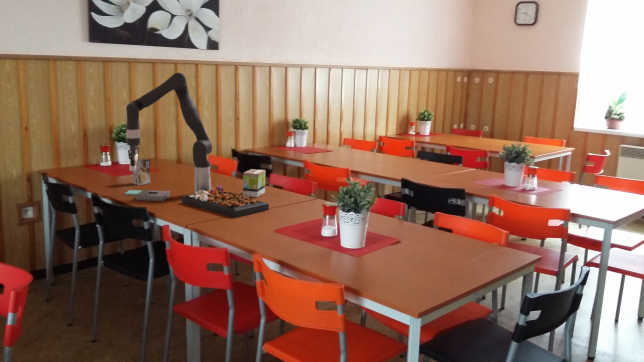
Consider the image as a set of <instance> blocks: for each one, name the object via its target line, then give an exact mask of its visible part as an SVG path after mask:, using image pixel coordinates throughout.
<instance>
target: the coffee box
mask: <svg viewBox="0 0 644 362" xmlns="http://www.w3.org/2000/svg"><path fill="white" fill-rule="evenodd" d="M150 163H151V162H150V159H148V158H138V159H137V165H136V171H132V184H133V185H136V184H137V185H136V186H141V185H143V186H144V185H149V184H151V164H150ZM148 183H149V184H148Z"/></svg>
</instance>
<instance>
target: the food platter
mask: <svg viewBox="0 0 644 362" xmlns="http://www.w3.org/2000/svg"><path fill="white" fill-rule="evenodd" d="M181 204H184V205H188V206H191V207H195V208H198V209H203V210H206V211H209V212H213V213H216V214H219V215H224V216H227V217H231V218H234V219H235V218H241V217H245V216H250V215H253V214H257V213H263V212H267V211H270V209H269V208H270V205H269V203H268V202H265V201H259V200H256V199H255V198H253V199H251V197H248V196H247V195H245V196H244V195H243V194H240V193H239V192H232V191H228V190H224V187H223V185H222V184H220V185H216V186H215V187H213V186H212V185H211V190H210V191H205V190H203V191H198V192H196V193H195V192H194V193H191V194H187V195H183V196H181ZM266 210H267V211H266Z"/></svg>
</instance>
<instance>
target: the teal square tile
mask: <svg viewBox="0 0 644 362" xmlns="http://www.w3.org/2000/svg"><path fill="white" fill-rule="evenodd" d="M141 191H143V190H140V189H137V190H136V189H129V190H128V191H126V192H124V195H125V196H136V195H137V194H138V193H140V192H141Z"/></svg>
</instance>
